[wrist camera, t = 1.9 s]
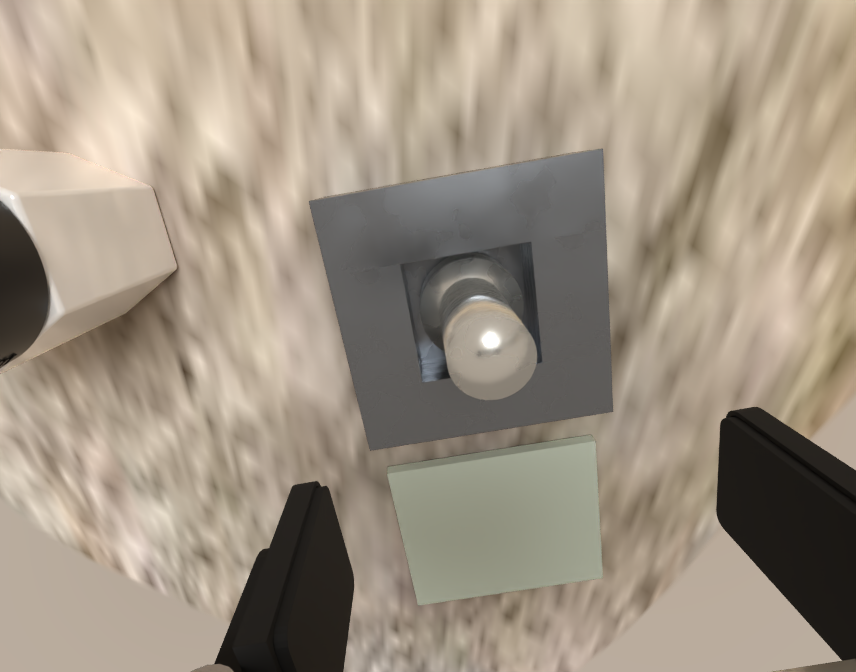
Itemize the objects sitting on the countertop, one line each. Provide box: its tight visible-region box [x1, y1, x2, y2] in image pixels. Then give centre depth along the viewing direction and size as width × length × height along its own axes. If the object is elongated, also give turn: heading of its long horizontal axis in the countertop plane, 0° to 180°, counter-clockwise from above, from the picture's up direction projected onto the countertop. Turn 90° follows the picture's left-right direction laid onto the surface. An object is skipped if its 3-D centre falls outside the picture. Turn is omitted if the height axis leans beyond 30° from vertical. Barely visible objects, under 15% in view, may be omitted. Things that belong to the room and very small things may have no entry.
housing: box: [309, 149, 613, 451], centre depth 26 cm, size 14×14×4 cm
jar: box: [0, 149, 177, 374], centre depth 20 cm, size 9×8×12 cm
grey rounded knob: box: [420, 252, 537, 400], centre depth 23 cm, size 6×6×9 cm
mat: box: [387, 435, 603, 606], centre depth 33 cm, size 14×12×1 cm
